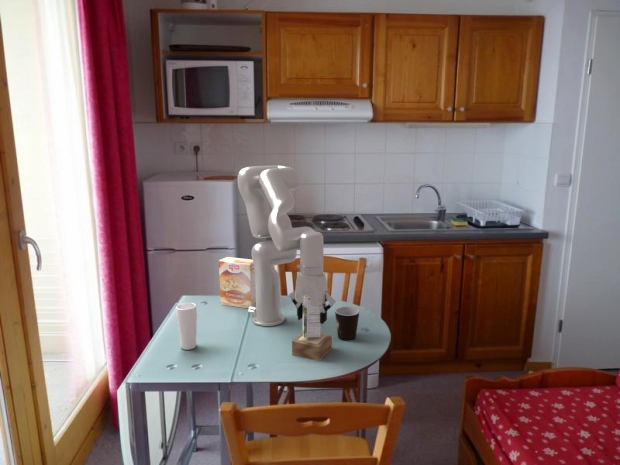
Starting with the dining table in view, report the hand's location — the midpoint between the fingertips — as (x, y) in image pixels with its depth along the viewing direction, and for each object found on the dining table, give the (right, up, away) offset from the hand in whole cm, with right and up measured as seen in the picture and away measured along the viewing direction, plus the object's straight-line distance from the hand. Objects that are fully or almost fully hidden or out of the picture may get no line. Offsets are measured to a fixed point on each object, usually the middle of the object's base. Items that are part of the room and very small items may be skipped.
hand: (311, 320), depth 163 cm
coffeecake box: (-31, -2, +46) cm, 55 cm away
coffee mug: (+13, -8, +15) cm, 21 cm away
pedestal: (0, -11, +2) cm, 11 cm away
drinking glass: (-42, -11, +6) cm, 44 cm away
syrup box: (0, -5, +1) cm, 5 cm away
